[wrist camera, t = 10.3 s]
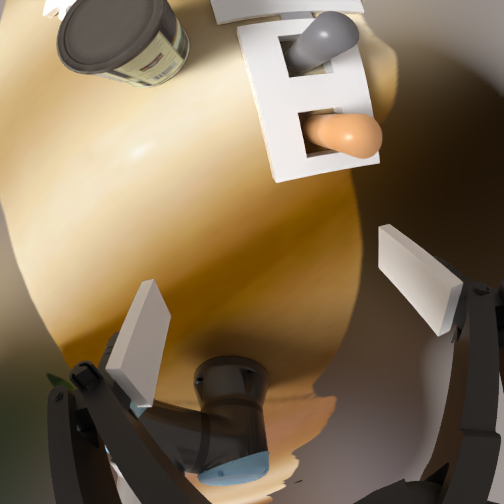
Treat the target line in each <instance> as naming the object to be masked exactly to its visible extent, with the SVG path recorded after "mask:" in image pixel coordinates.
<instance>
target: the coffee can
mask: <svg viewBox="0 0 504 504" xmlns="http://www.w3.org/2000/svg"><path fill="white" fill-rule="evenodd" d="M57 52H58V56H59V58H60V60H61V62H62V63H63V64H64V65H65V66H66V67H67V68H68V69H70V70H72V71H74V72H76V73H80V74H87V75H96V76H100V77H104V78H108V79H112V80H115V81H119V82H122V83H126V84H128V85H131V86H133V87H139V88H148V87H153V86H157V85H160V84H162V83H164V82H166V81H167V80H169V79H170V78H172V77H173V76H174V75H175V74H176V73H177V72H178V71H179V70H180V69H181V68H182V66H183V65H184V63H185V62H186V59H187V57H188V53H189V39H188V35H187V33H186V32H185V30H184V29H183V28H182V26H181V24H180V23H179V21H178V19H177V17H176V16H175V14H174V12H173V10H172V9H171V6H170V5H169V3H168V2H167V0H76V1H75V2H74V4H73V5H72V6H71V7H70V9H69V10H68V12H67V13H66V15H65V16H64V18H63V20H62V22H61V25H60V28H59V31H58V35H57Z"/></svg>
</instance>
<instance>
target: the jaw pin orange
mask: <svg viewBox="0 0 504 504" xmlns="http://www.w3.org/2000/svg"><path fill="white" fill-rule="evenodd" d="M303 134H304V136H305V138H306V139H307V140H308V141H309V142H311V143H313V144H316V145H319V146H323V147H326V148H329V149H332V150H335V151H338V152H342V153H345V154H347V155H350V156H353V157H356V158H360V159H367V158H370V157H372V156H374V155H375V154H376V153H377V152H378V151H379V149H380V147H381V144H382V131H381V128H380V126H379V124H378V123H377V121H376V120H375V119H373V118H372V117H371V116H369V115H366V114H324V115H313V116H310V117H309V118H307V119H306V121H305V122H304V125H303Z"/></svg>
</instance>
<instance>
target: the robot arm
mask: <svg viewBox="0 0 504 504" xmlns="http://www.w3.org/2000/svg"><path fill="white" fill-rule="evenodd" d="M379 268H380V270H381V271H382V272H383V273H384V274H385V275H386V276H387V277H388V278H389V279H390V280H391V282H392V283H393V284H394V285H395V286H396V287H397V288H398V289H399V291H400V292H401V293H402V294H403V295H404V296H405V297H406V298H407V300H408V301H409V302H410V303H411V304H412V305H413V307H414V308H415V309H416V310H417V311H418V312H419V314H420V315H421V316H422V317H423V318H424V320H425V321H426V322H427V323H428V325H429V326H430V327H431V328H432V330H433V331H434V332H435V333H436V335H437V336H440V335H442V334H444V333H446V332H448V331H450V328H451V325H452V322H454V323H455V324H456V325H457V327H456V330H455V333H454V336H453V339H452V342H451V343H453V342H454V340H455V342H454V353H453V362H452V370H451V377H450V383H449V389H448V395H447V400H446V405H445V410H444V414H443V419H442V422H441V427H440V431H439V434H438V438H437V441H436V444H435V448H434V451H433V454H432V457H431V459H430V461H429V463H428V464H427V466H426V468H425V470H424V472H423V474H422V476H421V479H420V481H411V482H405V479H402V480H400V481H398V482H395V483H393V484H391V485H388V486H386V487H384V488H381V489H379V490H376V491H374V492H372V493H371V494H369V495H367V496H366V497H364V498H362V499H361V500H359V501H357V502H355V503H354V504H498V503H495V502H490V501H487V499H488V495H489V492H490V489H491V485H492V482H493V478H494V474H495V470H496V466H497V461H498V456H499V451H500V445H501V436H500V434H498V433H496V431H495V427H496V419H497V408H498V395H499V372H500V376H501V381H502V386H503V392H504V278H503V279H502V281H501V284H500V287H497V288H490V287H489V286H488V285H487V284H485V283H483V282H472V283H471V282H470V281H469V280H468V279H467V278H465V276H463V275H462V274H461V273H460V272H459V271H457V270H455V268H454V267H453V266H450V264H449V263H447V262H446V261H445V260H444V259H441V258H439V257H437V256H434V257H432V256H431V255H429V253H427V252H426V251H425V250H423V249H422V248H421V247H419V246H418V245H417V244H416V243H414V242H413V241H412V240H410V239H409V238H408V237H406V236H405V235H404V234H402V233H400V231H398V230H397V229H395V228H394V227H393V226H391V225H390V224H388V225H384V226H380V227H379ZM170 319H171V315H170V313H169V311H168V309H167V307H166V305H165V302H164V300H163V298H162V296H161V294H160V291H159V289H158V287H157V285H156V282H155V280H154V279H151V280H147V281H142V283H141V285H140V287H139V290H138V292H137V294H136V296H135V298H134V300H133V303H132V305H131V307H130V309H129V312H128V314H127V316H126V319H125V321H124V323H123V326H122V328H121V330H120V332H115V333H114V335H113V336H112V337H111V338H110V339H109V342H108V344H107V346H106V349H105V351H104V354H103V356H102V358H101V361H100V363H99V366H98V368H97V369H96V367H95V366H94V365H93V364H92V362H90V361H82V362H80V363H78V364H77V365H76V366H74V368H73V369H72V370H71V372H70V380H71V381H72V383H73V384H74V385H75V386H76V387H77V388H78V389H76V390H73V391H69V390H68V389H67V388H66V387H65V386H64V385H59V386H57V387H55V388H53V390H51V392H50V394H49V395H48V405H47V414H48V415H47V424H48V447H49V459H50V469H51V476H52V483H53V489H54V495H55V500H56V504H212V503H211V502H209V501H208V500H207V499H206V498H205V497H204V496H203V495H202V494H201V493H200V492H199V491H198V490H197V489H196V488H195V487H194V486H193V485H192V484H191V483H190V482H189V480H188V479H187V478H186V477H185V472H189V473H195V474H198V476H197V477H198V479H199V482H200V483H202V484H207V485H213V486H224V485H235V484H242V483H247V482H251V481H254V480H257V479H259V478H261V477H263V476H265V475H266V474H267V472H268V470H269V451H268V446H267V439H266V431H265V424H264V417H263V404H264V400H265V397H266V393H267V389H268V378H267V372H266V370H265V369H264V368H263V367H262V366H261V365H260V364H259V363H257V362H255V361H253V360H250V359H247V358H243V357H235V356H227V357H218V358H214V359H211V360H208V361H206V362H204V363H202V364H201V365H200V366H199V367H198V368H197V369H196V371H195V373H194V382H193V384H194V389H195V393H196V396H197V399H198V402H199V405H200V408H201V412H200V411H195V410H191V409H187V408H183V407H179V406H176V405H172V404H168V403H165V402H161V401H158V400H155V398H154V393H155V388H156V383H157V378H158V373H159V368H160V363H161V358H162V354H163V349H164V344H165V340H166V336H167V331H168V327H169V323H170ZM106 451H107V452H108V453H110V455H111V457H112V458H111V465H112V466H113V468H114V469H115V470H116V472H117V474H118V482H117V487H116V485H115V481H114V478H113V475H112V471H111V468H110V464H109V461H108V457H107V453H106Z"/></svg>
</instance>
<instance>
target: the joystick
mask: <svg viewBox="0 0 504 504" xmlns="http://www.w3.org/2000/svg"><path fill="white" fill-rule="evenodd" d="M75 1H76V0H47V1H46V4H45V7H44V11H43V16H46V17H48V18H52V17H53V16H54V15H56V14H57V13H58V12H59V19H60V20H63V18H64V16H65V15H66V13H67V12H68V10H69V9H70V7H71V6H72V5H73V4H74V2H75Z"/></svg>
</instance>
